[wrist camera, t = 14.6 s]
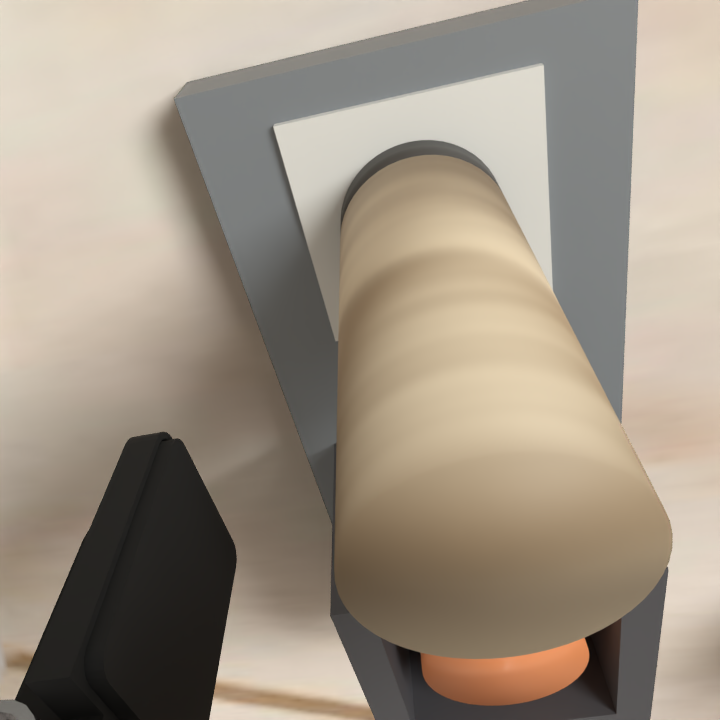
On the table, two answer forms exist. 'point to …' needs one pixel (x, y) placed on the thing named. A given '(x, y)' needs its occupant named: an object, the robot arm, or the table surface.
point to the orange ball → (506, 675)
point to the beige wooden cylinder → (473, 429)
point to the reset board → (526, 199)
